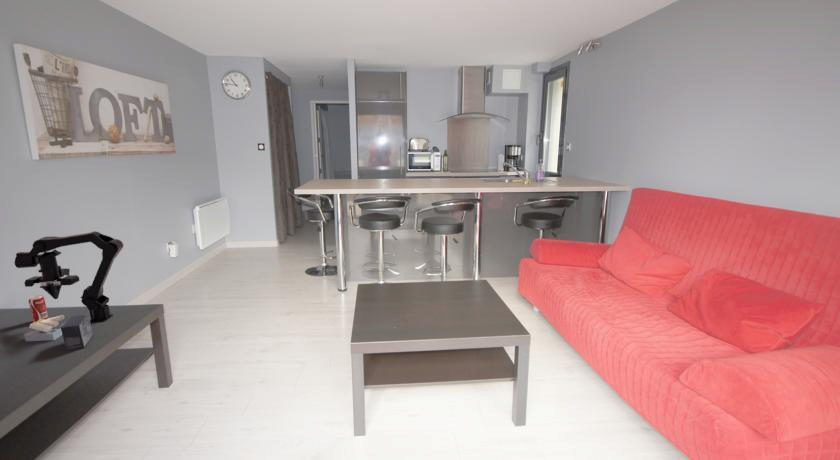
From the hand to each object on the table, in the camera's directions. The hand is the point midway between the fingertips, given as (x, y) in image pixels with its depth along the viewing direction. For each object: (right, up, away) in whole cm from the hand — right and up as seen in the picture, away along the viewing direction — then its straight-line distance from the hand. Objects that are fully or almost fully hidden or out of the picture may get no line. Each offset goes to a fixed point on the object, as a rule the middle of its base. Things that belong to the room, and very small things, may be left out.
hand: (56, 298), depth 183 cm
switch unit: (+4, -14, -7) cm, 16 cm away
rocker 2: (+4, -9, -8) cm, 13 cm away
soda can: (-11, -11, +5) cm, 17 cm away
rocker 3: (+4, -8, -5) cm, 10 cm away
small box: (+23, -16, -14) cm, 31 cm away
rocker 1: (+4, -10, -12) cm, 16 cm away
